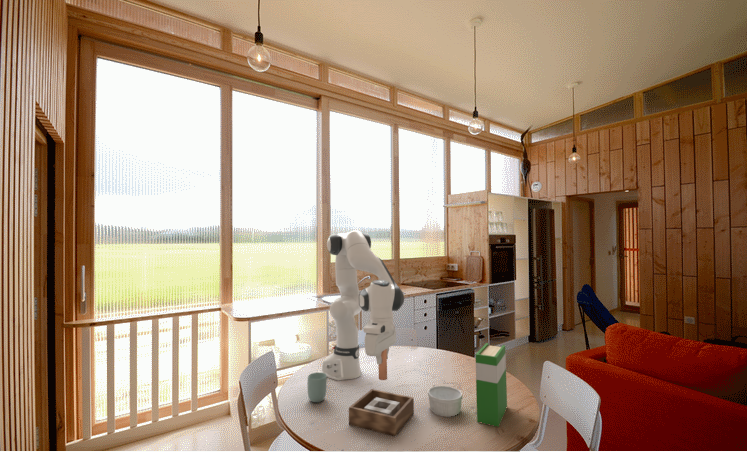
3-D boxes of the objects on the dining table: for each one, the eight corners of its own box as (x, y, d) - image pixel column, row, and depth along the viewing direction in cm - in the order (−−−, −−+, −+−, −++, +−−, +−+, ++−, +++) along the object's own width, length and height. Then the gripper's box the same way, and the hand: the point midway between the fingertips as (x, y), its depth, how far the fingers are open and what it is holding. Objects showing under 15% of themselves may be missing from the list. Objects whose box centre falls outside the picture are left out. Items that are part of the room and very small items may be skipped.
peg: (377, 379, 125) (376, 346, 126) (380, 376, 128) (380, 344, 129) (385, 380, 124) (384, 347, 125) (388, 377, 127) (387, 344, 128)
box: (348, 424, 121) (348, 407, 122) (371, 404, 137) (371, 388, 138) (395, 437, 113) (394, 418, 114) (413, 413, 129) (413, 397, 130)
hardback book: (487, 403, 138) (486, 342, 140) (507, 407, 134) (505, 345, 136) (477, 422, 123) (475, 354, 125) (498, 427, 119) (496, 357, 121)
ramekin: (456, 422, 123) (455, 402, 123) (422, 413, 130) (422, 394, 130) (467, 408, 134) (466, 389, 135) (435, 400, 141) (435, 383, 142)
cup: (329, 397, 143) (329, 373, 144) (320, 405, 136) (321, 380, 137) (313, 395, 146) (313, 371, 147) (303, 403, 139) (304, 377, 139)
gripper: (385, 318, 138) (386, 353, 137) (361, 329, 120) (361, 369, 119) (399, 319, 136) (400, 355, 135) (377, 330, 117) (378, 371, 116)
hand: (382, 361), depth 127 cm, fingers closed on peg, 3 cm apart
